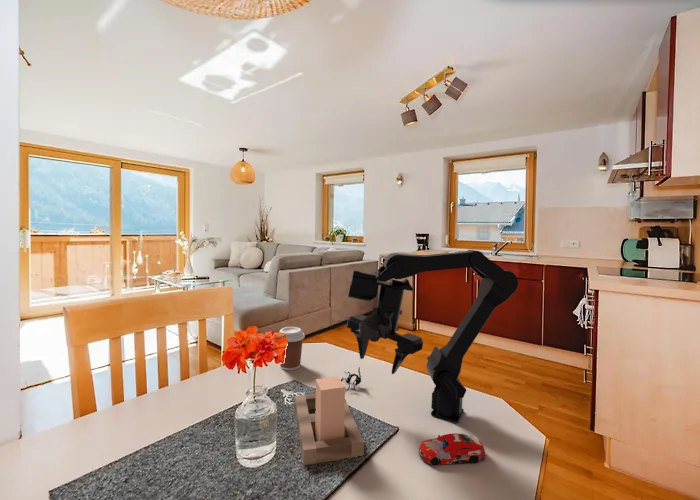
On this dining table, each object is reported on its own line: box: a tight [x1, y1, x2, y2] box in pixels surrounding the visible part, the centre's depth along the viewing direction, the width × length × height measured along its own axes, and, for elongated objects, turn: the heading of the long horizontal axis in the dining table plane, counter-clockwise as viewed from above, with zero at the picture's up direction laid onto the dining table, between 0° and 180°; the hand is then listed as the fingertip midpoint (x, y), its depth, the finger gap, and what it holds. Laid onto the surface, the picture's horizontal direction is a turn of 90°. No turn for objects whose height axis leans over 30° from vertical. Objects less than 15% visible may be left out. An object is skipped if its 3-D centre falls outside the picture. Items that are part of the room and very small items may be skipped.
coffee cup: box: [278, 326, 306, 371], centre depth 109 cm, size 9×9×12 cm
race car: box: [418, 432, 486, 467], centre depth 68 cm, size 13×5×4 cm, turn 95°
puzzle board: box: [294, 393, 365, 466], centre depth 76 cm, size 21×12×3 cm, turn 14°
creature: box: [340, 366, 362, 393], centre depth 96 cm, size 8×5×8 cm
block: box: [314, 376, 346, 442], centre depth 71 cm, size 5×5×13 cm
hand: (377, 365), depth 83 cm, fingers open, 9 cm apart
